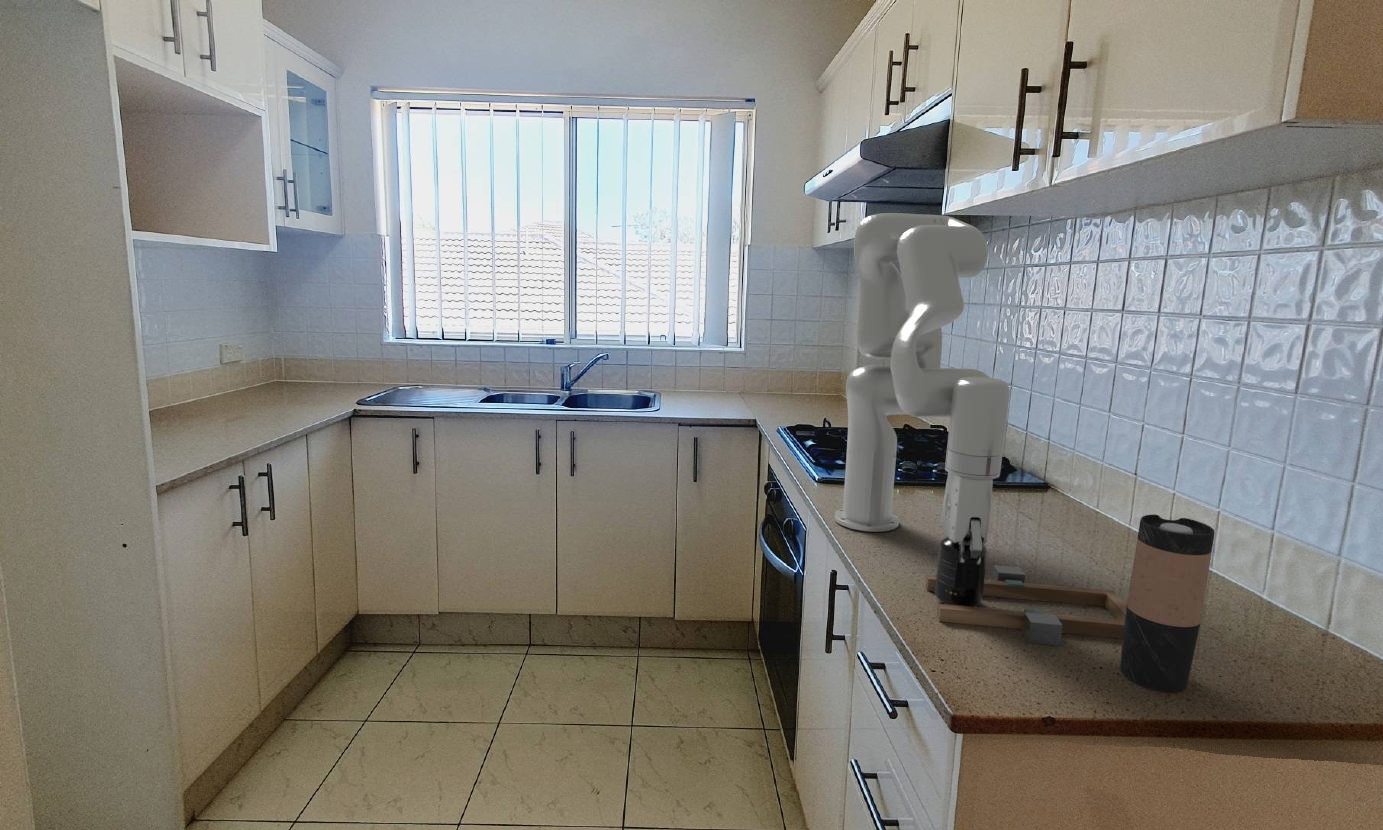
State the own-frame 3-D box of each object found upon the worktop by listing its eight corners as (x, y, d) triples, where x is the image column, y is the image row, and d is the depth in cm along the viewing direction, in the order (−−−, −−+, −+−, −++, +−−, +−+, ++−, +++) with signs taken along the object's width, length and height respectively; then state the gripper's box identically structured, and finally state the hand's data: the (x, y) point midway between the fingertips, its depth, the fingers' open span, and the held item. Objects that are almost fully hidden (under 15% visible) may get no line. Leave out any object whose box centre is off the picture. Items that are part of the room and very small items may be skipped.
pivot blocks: (991, 582, 117) (993, 565, 116) (1017, 584, 116) (1019, 567, 116) (1028, 642, 98) (1030, 622, 97) (1059, 645, 97) (1062, 624, 96)
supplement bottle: (943, 584, 114) (951, 512, 111) (987, 598, 109) (997, 523, 107) (926, 599, 108) (934, 524, 106) (972, 614, 104) (982, 536, 102)
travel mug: (1162, 699, 85) (1189, 538, 81) (1103, 667, 92) (1125, 517, 88) (1204, 686, 88) (1231, 530, 84) (1143, 656, 95) (1166, 511, 91)
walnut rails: (925, 586, 115) (926, 572, 114) (1110, 602, 111) (1112, 588, 110) (939, 621, 103) (940, 606, 103) (1146, 640, 99) (1149, 625, 99)
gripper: (936, 446, 113) (925, 552, 117) (958, 477, 97) (944, 600, 100) (986, 449, 112) (973, 556, 116) (1016, 481, 96) (1001, 605, 99)
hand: (960, 575), depth 108 cm, fingers closed on supplement bottle, 6 cm apart
